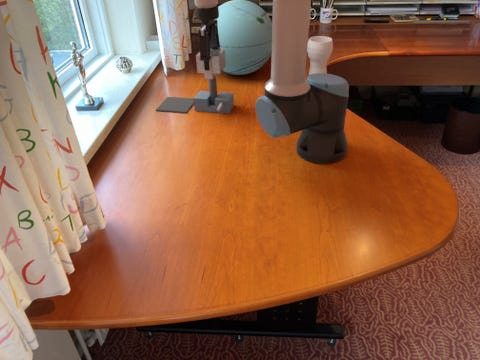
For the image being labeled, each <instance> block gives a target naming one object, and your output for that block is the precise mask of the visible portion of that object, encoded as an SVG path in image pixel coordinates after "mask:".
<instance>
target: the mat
mask: <svg viewBox="0 0 480 360" xmlns="http://www.w3.org/2000/svg"><path fill="white" fill-rule="evenodd" d="M193 98H194V97H176V96H167V97H166V98H165V99H164V100H163V101H162V102H161V104H159V105H158V107H157V108H156V109H155V112H163V113H175V114H187V113H188V112H189V111H190V109H191V108H192V107H193V106H194V99H193Z"/></svg>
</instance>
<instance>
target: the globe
mask: <svg viewBox="0 0 480 360" xmlns="http://www.w3.org/2000/svg"><path fill="white" fill-rule="evenodd" d="M218 9H219V17H218V18H217V19H215V20H217V21H218V22H217V24H218V34H219V42H220V48H221V49H225V60H226V67H225V68H224V69H223V70H222V72H225V73H227V74H229V75H235V76H240V75H243V76H244V75H248V74H251V73H253V72H256V71H258V70H259V69H260V68H262V67H263V66H264V65H265V64H266V63H267V61H269V58H271V56H272V20H271V18H270V16H269V15H268V13H267V12H266V11H265V9H263V8H262V7H261V6H259V5H258V4H257V3H254V2H252V1H249V0H229V1H226V2H224V3H222V4H221V5H219V6H218Z"/></svg>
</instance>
